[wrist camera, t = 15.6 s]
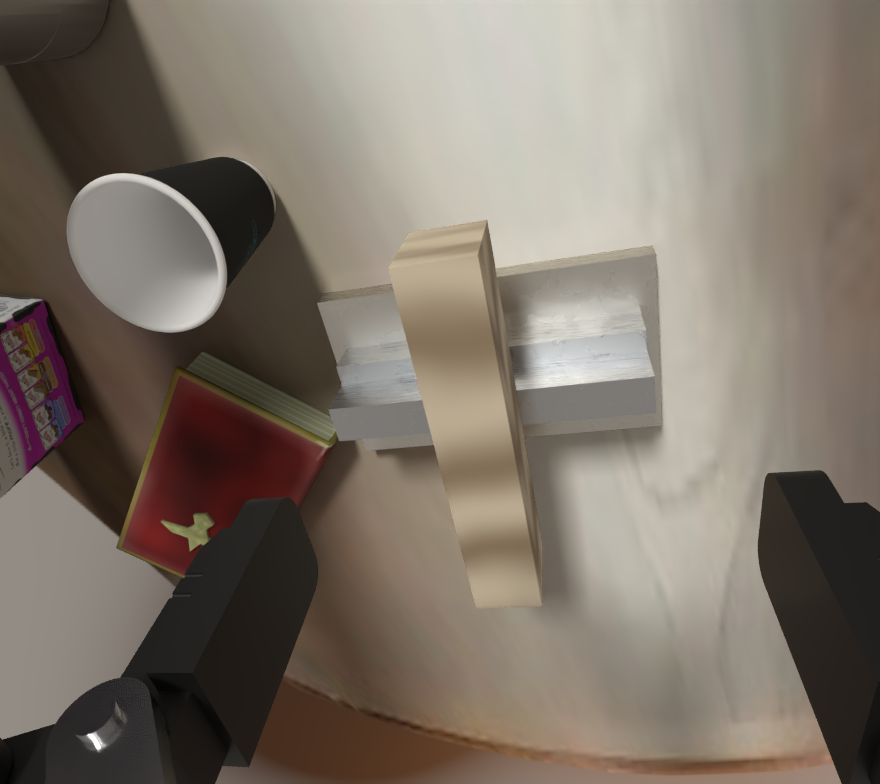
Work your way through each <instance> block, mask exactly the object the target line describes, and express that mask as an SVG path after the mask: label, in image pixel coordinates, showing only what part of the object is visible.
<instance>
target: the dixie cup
mask: <svg viewBox="0 0 880 784" xmlns="http://www.w3.org/2000/svg"><path fill="white" fill-rule="evenodd" d="M275 211H276V200H275V195H274V191H273V189H272V187H271V185H270V183H269V181H268V180H267V178H266V177H265V176H264V174H263V173H262V172H261V171H260V170H258V169H257V168H256V167H255V166H253V165H251V164H250V163H247V162H245V161H242V160H238V159H233V158H228V157H217V158H211V159H207V160H202V161H198V162H193V163H188V164H184V165H179V166H174V167H170V168H165V169H161V170H156V171H151V172H147V173H142V174H138V175H137V174H128V173H117V174H110V175H106V176H102V177H100V178H97V179H95V180H93V181H92V182H90V183H89V184H87V185H86V186H85V187H84V188H83V189H82V190H81V191H80V192H79V193H78V195H77V196H76V197H75V199H74V201H73V203H72V205H71V207H70V210H69V214H68V218H67V241H68V246H69V250H70V254H71V257H72V259H73V262H74V264H75V266H76V269H77V271H78V272H79V274H80V276H81V278H82V279H83V281H84V282H85V284H86V285H87V287H88V288H89V289H90V290H91V292H92V293H93V294H94V295H95V296H96V297H97V298H98V299H99V300H100V301H101V302H102V303H103V304H104V305H105V306H106V307H107V308H109V309H110V310H111V311H112V312H114V313H115V314H117V315H118V316H120V317H121V318H123V319H125V320H126V321H128V322H130V323H132V324H134V325H137V326H139V327H142V328H145V329H148V330H152V331H157V332H165V333H175V332H182V331H187V330H190V329H193V328H196V327H198V326H200V325H202V324H203V323H205V322H206V321H207V320H209V319H210V318H211V317H212V316H213V315H214V314H215V312H216V311H217V310H218V308H219V306H220V304H221V302H222V300H223V297H224V294H225V290H226V289H227V287H228V286H229V285H230V283H231V282H232V281H233V279H234V278H235V277H236V275H237V274H238V273H239V271H240V270H241V269H242V267H243V266H244V265H245V263H246V262H247V261H248V259H249V258H250V257H251V255H252V254H253V253H254V251H255V250H256V248H257V247H258V246H259V244H260V243H261V242H262V240H263V239H264V238H265V236H266V235H267V234H268V232H269V231H270V229H271V227H272V224H273V220H274V215H275Z"/></svg>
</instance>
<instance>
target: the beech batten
mask: <svg viewBox="0 0 880 784" xmlns="http://www.w3.org/2000/svg"><path fill="white" fill-rule="evenodd" d="M388 271H389V275H390V279H391V282H392V286H393V290H394V294H395V298H396V302H397V305H398V309H399V313H400V317H401V321H402V325H403V329H404V332H405V336H406V340H407V344H408V348H409V352H410V355H411V359H412V363H413V367H414V371H415V375H416V378H417V382H418V386H419V390H420V394H421V398H422V401H423V405H424V409H425V413H426V417H427V421H428V424H429V428H430V432H431V436H432V440H433V444H434V448H435V451H436V455H437V459H438V463H439V467H440V471H441V474H442V478H443V482H444V486H445V490H446V494H447V497H448V501H449V505H450V509H451V513H452V517H453V520H454V524H455V528H456V532H457V536H458V540H459V544H460V547H461V551H462V555H463V559H464V563H465V567H466V570H467V574H468V578H469V582H470V586H471V590H472V593H473V597H474V601H475V605H476V608H507V607H542V571H543V544H542V538H541V533H540V527H539V521H538V515H537V509H536V503H535V497H534V492H533V486H532V480H531V474H530V468H529V462H528V456H527V451H526V445H525V439H524V433H523V427H522V421H521V415H520V409H519V404H518V398H517V392H516V386H515V380H514V374H513V368H512V363H511V357H510V351H509V345H508V339H507V333H506V327H505V322H504V316H503V310H502V304H501V298H500V292H499V286H498V281H497V275H496V269H495V263H494V257H493V251H492V245H491V240H490V234H489V228H488V222H487V220H484V221H478V222H472V223H466V224H460V225H454V226H448V227H442V228H436V229H430V230H424V231H418V232H412V233H409V234H408V235H407V237H406V239H405V241H404V242H403V244H402V246H401V247H400V249H399V251H398V252H397V254H396V256H395V258H394V259H393V261H392V263H391V264H390V266H389V268H388Z"/></svg>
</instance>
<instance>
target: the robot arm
mask: <svg viewBox="0 0 880 784" xmlns="http://www.w3.org/2000/svg"><path fill="white" fill-rule="evenodd" d="M108 5H109V0H0V65H9V64H20V63H28V62H36V61H44V60H52V59H61V58H65V57H69V56H73V55H76V54H78V53H79V52H81V51H83V50H84V49H86V48H87V47H88V46H89V45H90V44H91V43H92V42H93V41H94V40H95V39H96V37H97V36H98V34H99V32H100V30H101V28H102V26H103V24H104V22H105V18H106V14H107V9H108ZM758 558H759V565H760V570H761V575H762V578H763V582H764V585H765V587H766V590H767V592H768V595H769V598H770V600H771V603H772V605H773V608H774V610H775V613H776V616H777V618H778V621H779V623H780V626H781V629H782V631H783V634H784V636H785V639H786V641H787V644H788V647H789V649H790V652H791V654H792V657H793V659H794V662H795V665H796V667H797V670H798V672H799V675H800V677H801V680H802V683H803V685H804V688H805V690H806V693H807V695H808V698H809V701H810V703H811V706H812V708H813V711H814V714H815V716H816V719H817V721H818V724H819V726H820V729H821V732H822V734H823V737H824V739H825V742H826V744H827V747H828V750H829V752H830V755H831V757H832V760H833V762H834V765H835V767H836V770H837V773H838V775H839V778H840V780H841V783H842V784H880V512H879V511H877V510H876V509H875V508H873V507H872V506H871V505H869V504H868V503H867V502H864V503H844V502H843V500H842V499H841V497H840V495H839V494H838V492H837V490H836V489H835V487H834V485H833V484H832V482H831V481H830V479H829V477H828V476H827V475H826V474H825V473H824V472H823V471H820V470H817V471H798V472H779V473H768V474H767V476H766V478H765V482H764V491H763V500H762V510H761V519H760V528H759V538H758ZM317 579H318V565H317V559H316V555H315V553H314V550H313V547H312V545H311V542H310V540H309V537H308V534H307V532H306V529H305V527H304V524H303V521H302V519H301V516H300V514H299V511H298V508H297V506H296V504H295V502H294V501H293V500H292V499H291V498H290V497H279V498H260V499H249V500H248V501H246V502H245V503H244V505H243V506H242V508H241V510H240V512H239V513H238V515H237V517H236V518H235V520H234V522H233V524H232V525H231V527H230V528H222V529H221V530H220V531H219V532H218V533H217V534H216V535H214V536H213V537H212V538H211V539H210V540H209V541H208V542H207V543H206V544H205V545H204V546H203V547H201V548H200V549H199V551H198V552H197V554H196V556H195V557H194V559H193V561H192V562H191V564H190V565H189V567H188V569H187V570H186V572H185V577H184V578H181V580H180V582H179V583H178V585H177V587H176V588H175V590H174V591H173V597H172V598H170V599H169V600H168V601H167V603H166V605H165V606H164V608H163V609H162V611H161V613H160V614H159V616H158V617H157V619H156V621H155V622H154V624H153V626H152V627H151V629H150V630H149V632H148V634H147V635H146V637H145V639H144V640H143V642H142V644H141V645H140V647H139V648H138V650H137V652H136V653H135V655H134V657H133V658H132V660H131V662H130V663H129V665H128V666H127V668H126V670H125V671H124V673H123V674H122V676H121V677H120V678H117V679H112V680H109V681H106V682H104V683H101V684H99V685H97V686H95V687H94V688H92V689H90V690H89V691H87V692H86V693H84V694H83V695H81V696H80V697H79V698H78V699H77V700H75V701H74V702H73V703H72V704H71V705H70V706H69V707H68V708H67V709H66V710H65V712H64V713H63V714H62V715H61V717H60V718H59V719H58V721H57V722H56V724H53V725H50V726H46V727H43V728H40V729H37V730H33V731H30V732H27V733H23V734H20V735H17V736H13V737H10V738H7V739H3V740H2V739H1V738H0V784H215V782H216V780H217V777H218V775H219V772H220V770H221V768H222V766H238V767H240V766H241V767H249V765H250V763H251V760H252V758H253V755H254V752H255V750H256V747H257V744H258V741H259V739H260V736H261V734H262V731H263V728H264V726H265V723H266V720H267V718H268V715H269V712H270V710H271V707H272V704H273V702H274V699H275V696H276V694H277V691H278V688H279V686H280V683H281V680H282V678H283V675H284V672H285V670H286V667H287V665H288V662H289V659H290V657H291V654H292V651H293V649H294V646H295V643H296V641H297V638H298V635H299V633H300V630H301V627H302V625H303V622H304V619H305V617H306V614H307V611H308V609H309V606H310V603H311V601H312V598H313V595H314V593H315V590H316V586H317Z"/></svg>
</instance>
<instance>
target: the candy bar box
mask: <svg viewBox="0 0 880 784" xmlns="http://www.w3.org/2000/svg"><path fill="white" fill-rule="evenodd" d="M83 422H84V417H83V414H82V411H81V408H80V405H79V402H78V399H77V396H76V393H75V390H74V388H73V385H72V382H71V379H70V376H69V373H68V370H67V367H66V365H65V362H64V359H63V356H62V353H61V350H60V347H59V344H58V342H57V339H56V336H55V333H54V330H53V327H52V324H51V321H50V318H49V316H48V313H47V309H46V306H45V304H44V301H43V300H42V299H38V298H28V297H15V296H7V295H1V294H0V498H1V497H2V496H3V495H5V494H6V493H7V492H8V491H9V490H10V489H11V488H12V487H13V486H14V485H15V484H16V483H17V482H19V481H20V480H21V479H22V478H23V477H24V476H25V475H26V474H28V473H29V472H30V471H31V470H32V469H33V468H34V467H35V466H36V465H37V464H38V463H39V462H41V461H42V460H43V459H44V458H45V457H46V456H47V455H48V454H49V453H50V452H52V451H53V450H54V449H55V448H56V447H57V446H58V445H59V444H60V443H62V442H63V441H64V440H65V439H66V438H67V437H68V436H69V435H70V434H71V433H72V432H74V431H75V430H76V429H77V428H78V427H79V426H80V425H81V424H82V423H83Z"/></svg>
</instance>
